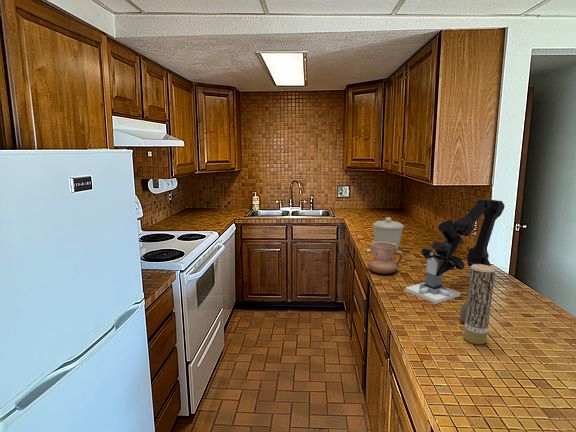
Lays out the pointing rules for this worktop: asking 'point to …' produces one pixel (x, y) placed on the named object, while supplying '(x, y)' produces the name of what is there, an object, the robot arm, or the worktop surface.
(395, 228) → the canister
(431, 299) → the plate
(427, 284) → the silver metal block
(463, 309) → the vase
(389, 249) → the ceramic jug
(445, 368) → the worktop surface
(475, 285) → the bark covered log
